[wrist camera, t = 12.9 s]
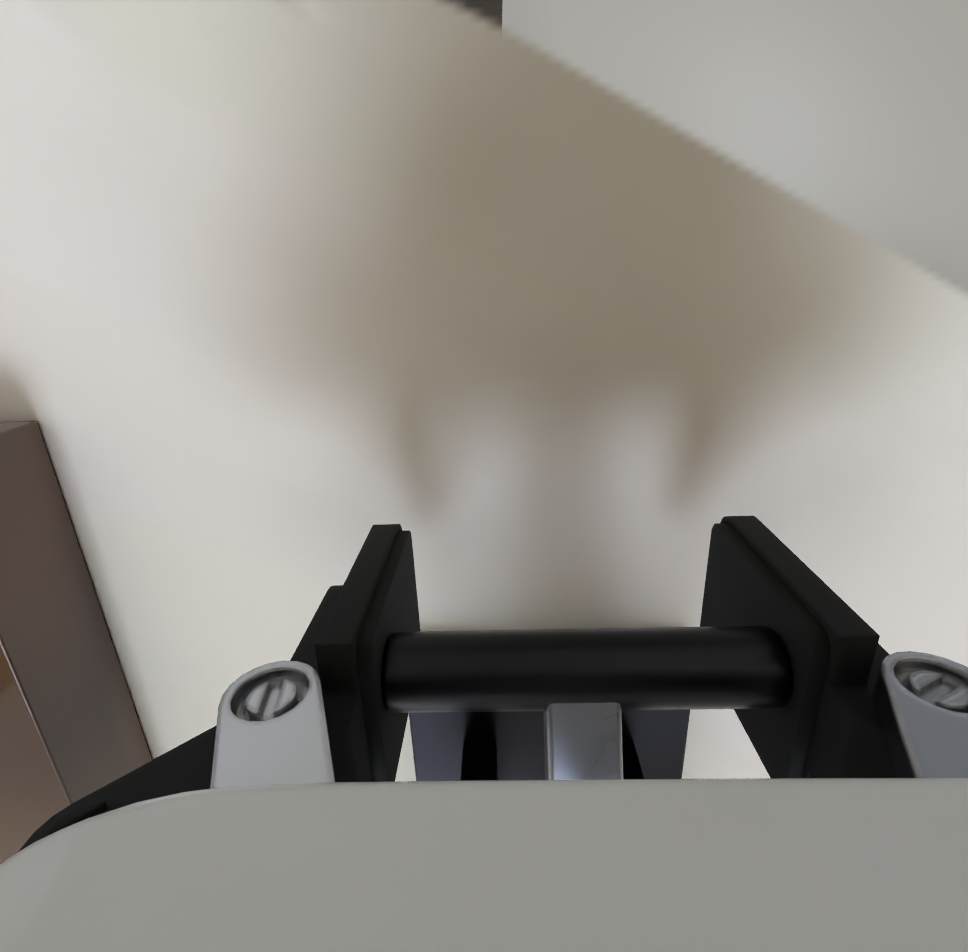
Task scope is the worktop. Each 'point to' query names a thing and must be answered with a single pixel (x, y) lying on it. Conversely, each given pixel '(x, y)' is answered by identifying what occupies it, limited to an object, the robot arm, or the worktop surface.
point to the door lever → (585, 680)
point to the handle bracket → (535, 745)
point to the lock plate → (52, 655)
